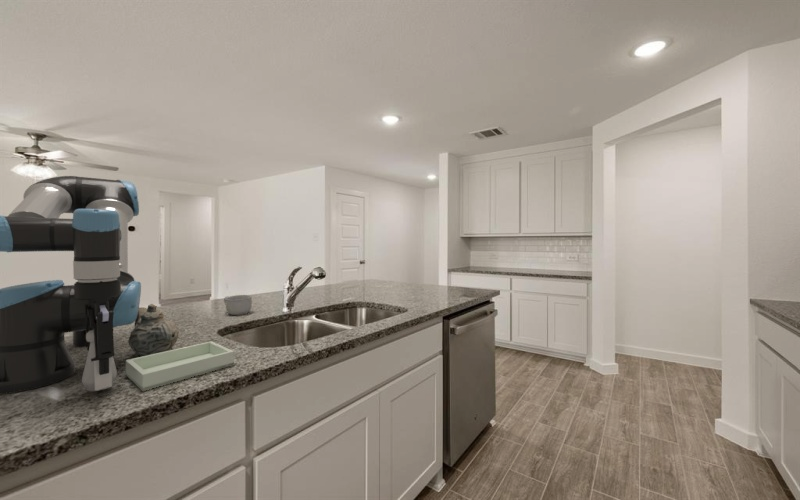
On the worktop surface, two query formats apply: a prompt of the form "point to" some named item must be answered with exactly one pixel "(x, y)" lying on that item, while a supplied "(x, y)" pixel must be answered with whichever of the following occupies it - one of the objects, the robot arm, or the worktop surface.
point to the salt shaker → (89, 366)
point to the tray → (178, 364)
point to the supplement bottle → (79, 338)
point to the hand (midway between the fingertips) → (100, 383)
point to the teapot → (152, 332)
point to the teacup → (238, 304)
